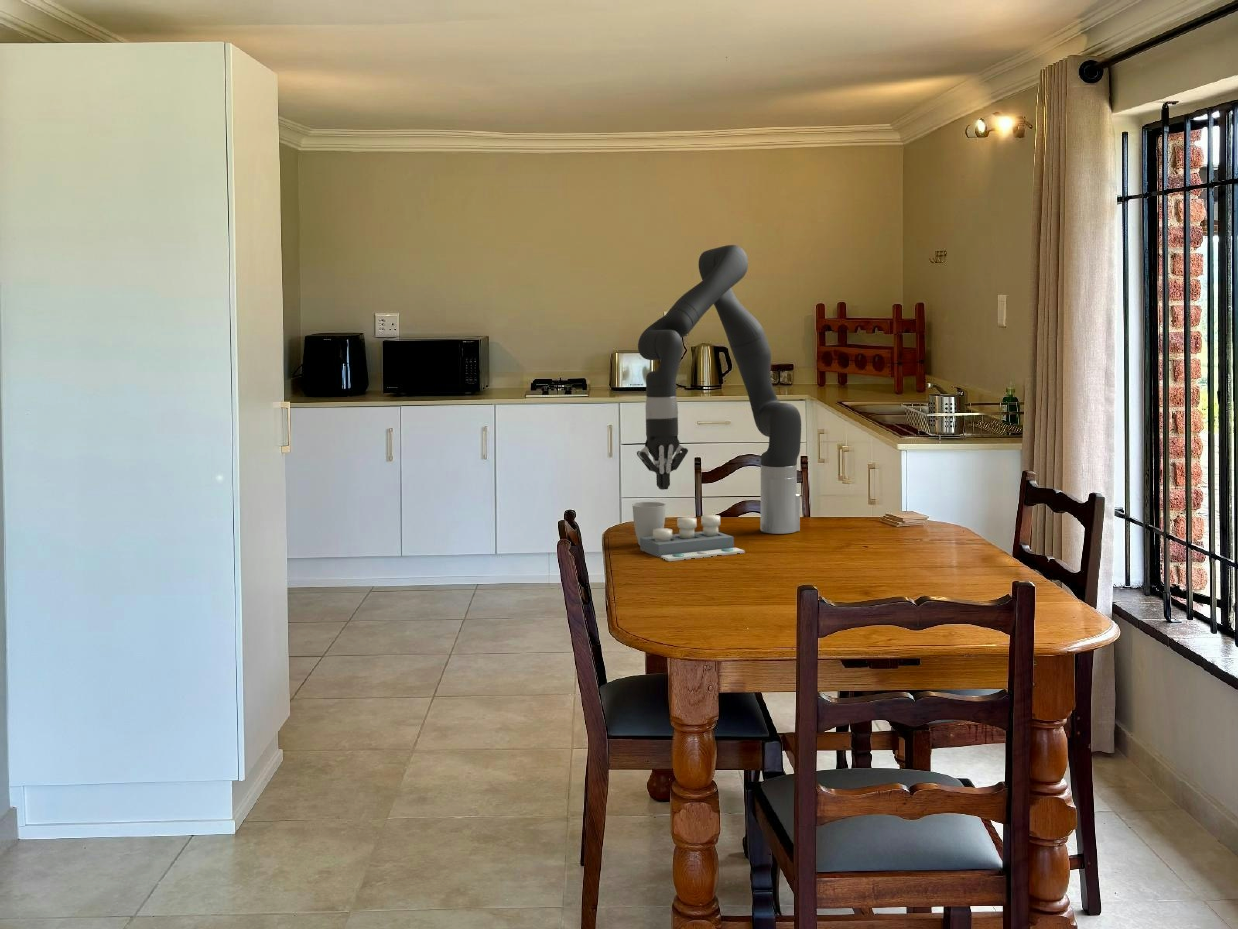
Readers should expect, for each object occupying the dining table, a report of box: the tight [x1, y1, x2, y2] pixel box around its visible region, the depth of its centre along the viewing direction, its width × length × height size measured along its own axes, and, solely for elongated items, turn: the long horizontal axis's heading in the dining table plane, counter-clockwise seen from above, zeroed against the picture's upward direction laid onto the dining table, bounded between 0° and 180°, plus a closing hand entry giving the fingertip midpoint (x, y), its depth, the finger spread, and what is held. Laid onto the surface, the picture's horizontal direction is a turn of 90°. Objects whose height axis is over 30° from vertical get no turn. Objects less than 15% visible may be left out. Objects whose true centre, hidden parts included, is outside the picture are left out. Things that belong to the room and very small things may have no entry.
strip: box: [660, 547, 746, 562], centre depth 274 cm, size 20×4×1 cm, turn 115°
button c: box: [653, 527, 673, 542], centre depth 279 cm, size 5×5×5 cm
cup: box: [632, 501, 667, 546], centre depth 288 cm, size 8×8×10 cm
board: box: [639, 530, 735, 558], centre depth 281 cm, size 20×10×3 cm, turn 115°
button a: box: [700, 514, 721, 537], centre depth 284 cm, size 5×5×5 cm
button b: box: [676, 516, 698, 539], centre depth 281 cm, size 5×5×5 cm
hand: (663, 489), depth 277 cm, fingers closed
